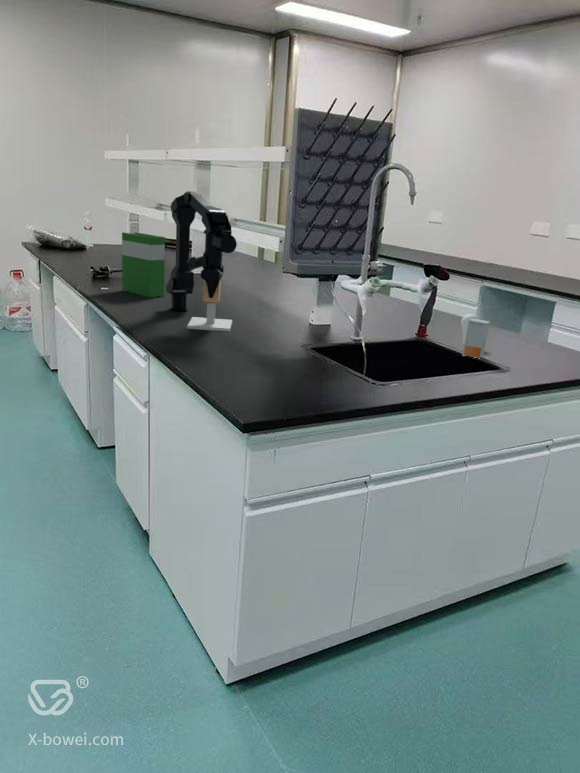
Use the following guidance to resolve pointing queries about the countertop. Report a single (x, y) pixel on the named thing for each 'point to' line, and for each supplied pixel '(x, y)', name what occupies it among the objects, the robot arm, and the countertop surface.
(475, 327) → the skincare box
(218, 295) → the tan wooden brick
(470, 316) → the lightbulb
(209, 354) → the countertop surface
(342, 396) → the countertop surface
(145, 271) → the hardback book
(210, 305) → the post stand
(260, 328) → the countertop surface
